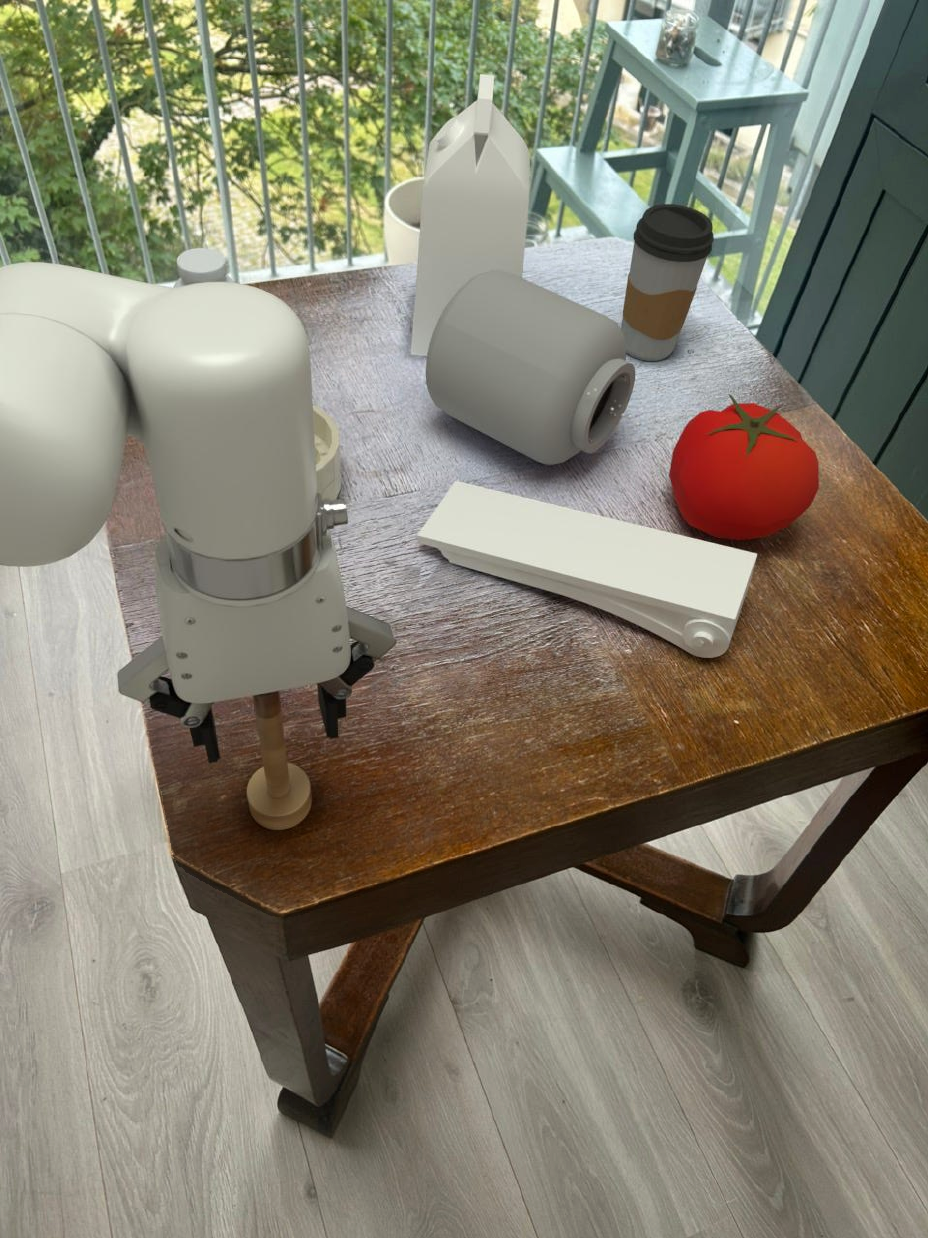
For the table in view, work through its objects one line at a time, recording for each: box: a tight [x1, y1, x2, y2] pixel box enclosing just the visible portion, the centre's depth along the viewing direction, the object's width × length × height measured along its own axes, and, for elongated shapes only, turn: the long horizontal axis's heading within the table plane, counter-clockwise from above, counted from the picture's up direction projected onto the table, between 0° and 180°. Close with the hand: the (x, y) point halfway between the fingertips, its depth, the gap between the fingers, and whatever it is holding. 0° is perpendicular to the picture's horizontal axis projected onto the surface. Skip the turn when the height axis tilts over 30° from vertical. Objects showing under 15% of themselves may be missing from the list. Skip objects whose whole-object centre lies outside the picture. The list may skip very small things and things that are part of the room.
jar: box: [425, 270, 674, 466], centre depth 92 cm, size 19×15×25 cm
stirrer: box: [246, 691, 313, 831], centre depth 63 cm, size 4×4×14 cm
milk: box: [410, 73, 531, 357], centre depth 100 cm, size 12×12×26 cm
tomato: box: [668, 393, 820, 541], centre depth 87 cm, size 12×13×12 cm
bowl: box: [313, 403, 342, 500], centre depth 87 cm, size 12×12×6 cm
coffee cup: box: [620, 203, 714, 362], centre depth 104 cm, size 8×8×15 cm
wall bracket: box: [416, 480, 758, 659], centre depth 84 cm, size 10×7×28 cm
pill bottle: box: [172, 247, 236, 288], centre depth 97 cm, size 6×6×12 cm
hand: (270, 730), depth 61 cm, fingers open, 6 cm apart
